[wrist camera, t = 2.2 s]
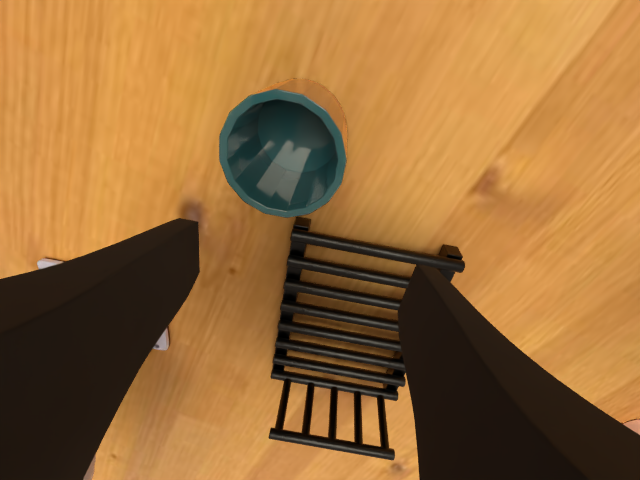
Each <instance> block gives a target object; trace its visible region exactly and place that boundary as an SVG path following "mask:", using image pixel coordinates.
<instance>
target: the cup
mask: <svg viewBox="0 0 640 480" xmlns="http://www.w3.org/2000/svg"><path fill="white" fill-rule="evenodd" d="M219 160H220V163H221V166H222V168H223V171H224V174H225V176H226V179H227V181H228V183H229V185H230V186H231V187H232V188H233V189H234V191H235V192H236V193H237V194H238V195H239V196H240V198H241V199H242V200H243V201H244V202H246V203H247V204H249V205H251V206H252V207H254V208H256V209H258V210H259V211H261V212H263V213H265V214H270V215H275V216H280V217H286V218H289V217H294V216H300V215H306V214H310V213H312V212H313V211H315V210H316V209H318V208H320V207H321V206H323V205H325V204H326V203H328V202H329V201H330V199H331V198H332V196H333V195H334V194H335V192H336V191H337V189H338V188H339V187H340V185H341V183H342V179H343V175H344V170H345V166H346V161H347V126H346V119H345V115H344V111H343V109H342V107H341V105H340V103H339V102H338V100H337V99H336V97H335V96H334V95H333V94H332V93H331V92H330V91H329V90H328V89H327V88H325V87H324V86H322V85H320V84H319V83H316V82H314V81H311V80H307V79H297V78H295V79H290V80H286V81H283V82H279V83H276V84H274V85H271V86H269V87H267V88H265V89H263V90H260V91H258V92H256V93H254V94H252V95H250V96H248V97H247V98H246V99H244V100H243V101H242V102H241V103H240V104H239V105H237V106H236V107H235V108H234V109H233V110H231V111H230V113H229V115H228V117H227V119H226V121H225V124H224V126H223V128H222V130H221V133H220V136H219Z"/></svg>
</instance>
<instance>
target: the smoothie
mask: <svg viewBox="0 0 640 480" xmlns="http://www.w3.org/2000/svg"><path fill="white" fill-rule="evenodd" d="M623 425H625V426H626V427H628V428H630V429H631V430H633V431H634V432H636V433H638V434H639V435H640V419H638V420H633V421H629V422H626V423H624V424H623Z"/></svg>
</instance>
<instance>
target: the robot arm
mask: <svg viewBox="0 0 640 480" xmlns="http://www.w3.org/2000/svg"><path fill="white" fill-rule="evenodd" d="M37 265H38V268H39V270H35V271H32V272H28V273H24V274H20V275H16V276H11V277H7V278H3V279H0V480H92V478H93V474H94V464H95V455H96V452H97V450H98V448H99V446H100V443H101V441H102V439H103V437H104V435H105V433H106V431H107V429H108V427H109V425H110V423H111V422H112V420H113V418H114V416H115V414H116V412H117V410H118V408H119V406H120V404H121V402H122V400H123V398H124V396H125V395H126V393H127V391H128V389H129V387H130V385H131V384H132V382H133V380H134V378H135V376H136V374H137V373H138V371H139V369H140V367H141V366H142V364H143V362H144V361H145V359H146V358H147V356H148V354H149V353H150V351H151V350H152V349H158V350H167V349H168V347H169V338H168V329H167V327H168V325H169V324H170V322H171V321H172V319H173V318H174V316H175V315H176V314H177V312H178V311H179V309H180V308H181V306H182V305H183V303H184V302H185V300H186V298H187V297H188V295H189V293H190V291H191V289H192V287H193V285H194V283H195V281H196V279H197V277H198V274H199V272H200V269H199V232H198V222H196V221H191V220H186V219H181V218H179V219H176V220H173V221H170V222H167V223H165V224H162V225H160V226H157V227H155V228H153V229H150V230H148V231H146V232H143V233H141V234H138V235H136V236H133V237H131V238H129V239H126V240H124V241H121V242H119V243H116V244H114V245H111V246H108V247H106V248H103V249H100V250H97V251H95V252H92V253H89V254H87V255H84V256H81V257H78V258H75V259H72V260H69V261H66V262H63V261H57V260H52V259H46V258H42V259H41V260H39V261H38V262H37ZM398 326H399V339H400V344H401V349H402V355H403V360H404V365H405V370H406V375H407V380H408V385H409V390H410V395H411V400H412V406H413V412H414V419H415V429H416V440H417V450H418V463H419V477H420V480H640V435H639V434H638V433H636V432H634V431H633V430H631V429H630V428H628V427H626V426H625V425H623V424H622V423H620V422H619V421H617V420H615V419H614V418H612V417H611V416H609V415H608V414H606V413H605V412H603V411H602V410H600V409H599V408H597V407H596V406H594V405H593V404H591V403H590V402H588V401H587V400H585V399H584V398H583V397H581V396H580V395H578V394H577V393H576V392H574V391H573V390H571V389H570V388H569V387H567V386H566V385H564V384H563V383H562V382H560V381H559V380H557V379H556V378H555V377H553V376H552V375H551V374H550V373H548V372H547V371H546V370H544V369H543V368H542V367H540V366H539V365H538V364H537V363H536V362H534V361H533V360H532V359H531V358H529V357H528V356H527V355H526V354H524V353H523V352H522V351H521V350H520V349H518V348H517V347H516V346H515V345H514V344H513V343H511V342H510V341H509V340H508V339H507V338H506V337H505V336H504V335H503V334H502V333H500V332H499V331H498V330H497V329H496V328H495V327H494V326H493V325H492V324H491V323H490V322H489V321H488V320H487V319H486V318H485V317H483V316H482V315H481V314H480V313H479V312H478V311H477V310H476V309H475V308H474V307H473V306H472V304H471V303H470V302H469V301H468V300H467V299H466V298H465V297H464V296H463V295H462V294H461V293H460V292H459V291H458V290H457V289H456V288H455V287H454V286H453V285H452V284H451V283H450V282H449V281H448V280H447V279H446V278H445V277H444V276H443V275H442V274H441V273H440V272H439V271H438V270H437V269H436V268H434V267H429V266H424V265H418V264H417V265H416V267H415V270H414V272H413V275H412V277H411V279H410V282H409V284H408V287H407V289H406V291H405V294H404V296H403V299H402V301H401V303H400V306H399V308H398Z"/></svg>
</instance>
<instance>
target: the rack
mask: <svg viewBox="0 0 640 480" xmlns="http://www.w3.org/2000/svg"><path fill="white" fill-rule="evenodd" d="M310 222H311V219H307V218H301V217H296V219H295V222H294V225H293V229H292V233H291V239H290V240H291V246H290V253H289V256H288V260H287V273H286V279H285V282H284V287H283V288H284V294H283V300H282V303H281V308H280V310H281V314H280V320H279V323H278V335H277V338H276V343H275V347H276V348H275V354H274V358H273V369H272V372H271V379H277V380H282V381H284V384H283V390H282V395H281V400H280V405H279V410H278V415H277V420H276V425H275V428H271V429H270V434H269V439H274V440H280V441H285V442H291V443H297V444H302V445H308V446H314V447H320V448H325V449H331V450H337V451H342V452H348V453H354V454H359V455H365V456H371V457H377V458H382V459H388V460H394V458H395V452H394V449H390V448H389V442H388V432H387V422H386V412H385V402H384V399H388V400H394V401H397V400H398V391H397V389H398V387H399V386H401V387H404V386H405V382H406V381H405V377H404V375H405V373H406V370H405V365H404V360H403V355H402V349H401V344H400V341H399V340H393V339H388V338H382V337H377V336H371V335H366V334H360V333H355V332H350V331H344V330H339V329H333V328H328V327H322V326H317V325H311V324H306V323H300V322H295V321H293V318H294V313H298V314H304V315H309V316H314V317H320V318H325V319H331V320H336V321H342V322H347V323H352V324H358V325H363V326H369V327H374V328H380V329H385V330H391V331H396V332H399V326H398V320H393V319H387V318H382V317H376V316H371V315H366V314H360V313H355V312H349V311H344V310H339V309H333V308H328V307H322V306H317V305H311V304H306V303H301V302H296V301H297V295H298V292H301V293H306V294H312V295H317V296H323V297H328V298H333V299H339V300H344V301H350V302H355V303H360V304H366V305H371V306H377V307H382V308H387V309H393V310H398V308H399V306H400V303H401V301H402V299H397V298H392V297H386V296H381V295H376V294H370V293H365V292H359V291H354V290H349V289H343V288H338V287H333V286H327V285H322V284H316V283H311V282H306V281H300V278H301V273H302V269H305V270H310V271H315V272H321V273H326V274H331V275H337V276H342V277H347V278H353V279H358V280H363V281H369V282H374V283H379V284H385V285H390V286H395V287H401V288H406V289H407V287H408V284H409V282H410V279H411V277H408V276H402V275H397V274H392V273H386V272H381V271H376V270H370V269H365V268H360V267H354V266H349V265H344V264H338V263H333V262H328V261H322V260H317V259H312V258H306V257H304V256H305V250H306V245H307V244H310V245H316V246H321V247H326V248H331V249H337V250H342V251H347V252H353V253H358V254H363V255H369V256H374V257H379V258H384V259H390V260H395V261H400V262H406V263H411V264H416V265H417V264H418V265H424V266H429V267H434V268H436V269H437V270H438V271H439V272H440V273H441V274H442V275H443V276H444V277H445V278H446V279H447V280H448V281H449V282H451V280H452V278H453V276H454V274H455V272H459V273H461V272H463V270H464V268H465V263H464V261H463V260H462V258H463V256H462V254H461V253H460V251H459V249H458V247H454V246H449V245H443V247H442V249H441V251H440V253H439V256H437V255H431V254H426V253H421V252H415V251H410V250H405V249H400V248H394V247H389V246H384V245H379V244H373V243H368V242H363V241H357V240H352V239H347V238H342V237H336V236H331V235H326V234H320V233H315V232H310V231H309V228H310ZM291 332H294V333H300V334H305V335H311V336H316V337H322V338H327V339H333V340H338V341H344V342H349V343H354V344H360V345H365V346H371V347H376V348H382V349H387V350H393V351H396V352H395V355H394V357H393V358H392V357H386V356H381V355H375V354H370V353H364V352H359V351H353V350H348V349H342V348H337V347H331V346H326V345H320V344H315V343H309V342H304V341H298V340H293V339H290V335H291ZM288 350H294V351H299V352H305V353H310V354H316V355H321V356H327V357H332V358H338V359H343V360H349V361H354V362H360V363H365V364H371V365H376V366H382V367H387V368H388V370H387V373H382V372H376V371H371V370H365V369H360V368H354V367H349V366H343V365H338V364H332V363H327V362H321V361H315V360H310V359H304V358H299V357H293V356H288V355H287V352H288ZM285 366H290V367H296V368H301V369H307V370H312V371H318V372H323V373H329V374H334V375H340V376H346V377H351V378H357V379H362V380H368V381H373V382H379V383H383V388H379V387H373V386H368V385H362V384H357V383H351V382H345V381H340V380H334V379H329V378H323V377H318V376H312V375H307V374H301V373H295V372H290V371H284V368H285ZM291 382H294V383H299V384H305V385H307V393H306V401H305V409H304V417H303V425H302V433H300V432H294V431H288V430H283V426H284V421H285V415H286V409H287V403H288V398H289V392H290V386H291ZM315 386H316V387H321V388H327V389H331V394H330V412H329V430H328V437H322V436H317V435H311V434H310V425H311V416H312V406H313V396H314V387H315ZM338 391H344V392H349V393H354V440H355V442H351V441H345V440H339V439H336V429H337V399H338ZM361 395H366V396H372V397H377V405H378V417H379V430H380V443H381V447H379V446H373V445H368V444H363V438H362V408H361Z"/></svg>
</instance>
